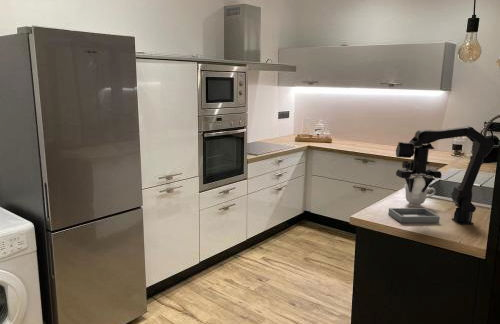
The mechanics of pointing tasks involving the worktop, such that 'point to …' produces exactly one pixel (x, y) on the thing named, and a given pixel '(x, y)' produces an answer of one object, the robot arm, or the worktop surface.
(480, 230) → the worktop surface
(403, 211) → the tray
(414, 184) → the lightbulb
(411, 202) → the teacup
